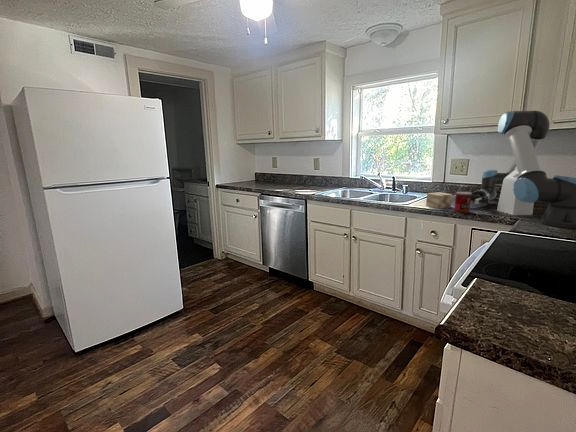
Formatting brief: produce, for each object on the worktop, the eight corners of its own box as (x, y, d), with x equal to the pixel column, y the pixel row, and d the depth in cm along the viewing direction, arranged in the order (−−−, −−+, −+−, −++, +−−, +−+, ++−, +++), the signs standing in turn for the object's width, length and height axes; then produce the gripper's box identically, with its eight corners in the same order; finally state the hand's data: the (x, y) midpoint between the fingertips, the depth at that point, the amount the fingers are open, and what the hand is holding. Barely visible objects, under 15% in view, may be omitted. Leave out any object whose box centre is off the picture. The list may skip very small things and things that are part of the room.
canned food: (460, 213, 178) (463, 193, 175) (450, 210, 185) (453, 191, 183) (472, 212, 179) (475, 193, 177) (462, 209, 187) (464, 191, 184)
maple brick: (438, 204, 203) (439, 192, 201) (451, 207, 194) (452, 194, 192) (426, 205, 200) (427, 193, 198) (438, 208, 191) (439, 195, 189)
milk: (532, 214, 172) (540, 167, 167) (512, 215, 172) (520, 167, 166) (515, 210, 184) (522, 165, 178) (496, 210, 183) (503, 165, 177)
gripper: (501, 205, 185) (485, 209, 173) (458, 199, 205) (441, 203, 192) (503, 192, 183) (487, 196, 171) (460, 187, 203) (442, 191, 191)
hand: (463, 200), depth 182 cm, fingers open, 13 cm apart
